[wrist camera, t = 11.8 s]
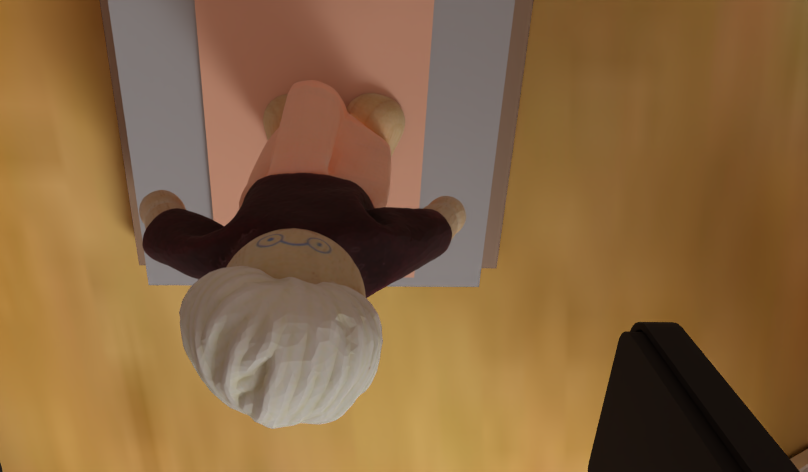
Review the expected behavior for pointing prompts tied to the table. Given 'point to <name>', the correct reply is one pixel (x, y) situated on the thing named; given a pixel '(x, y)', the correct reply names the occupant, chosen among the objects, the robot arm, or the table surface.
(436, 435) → the table surface
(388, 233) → the grandmother figurine
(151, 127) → the plinth
